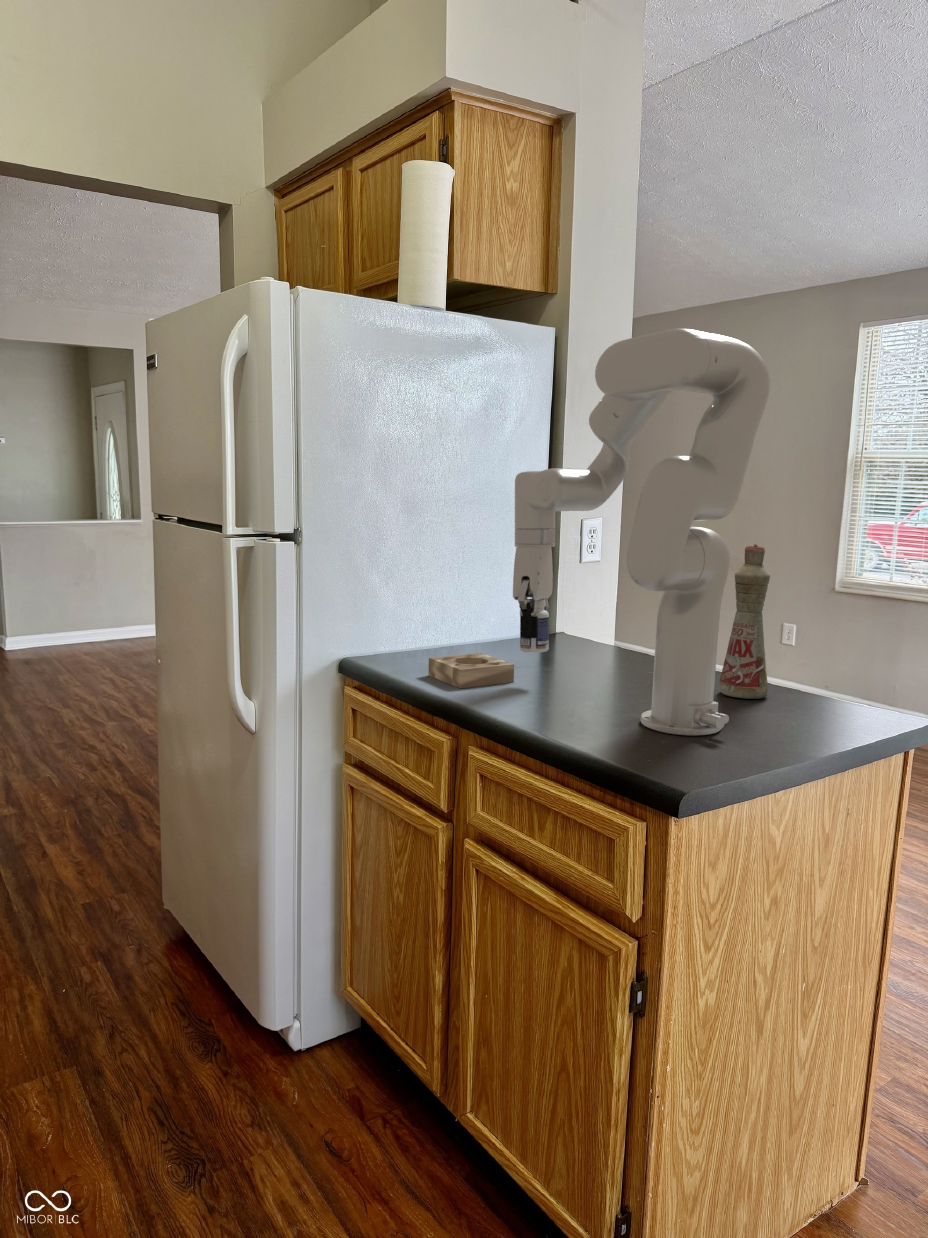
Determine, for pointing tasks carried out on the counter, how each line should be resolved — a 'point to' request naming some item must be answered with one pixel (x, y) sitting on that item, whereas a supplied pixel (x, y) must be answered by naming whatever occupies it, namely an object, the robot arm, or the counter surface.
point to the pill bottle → (543, 632)
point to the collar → (471, 670)
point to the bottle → (747, 632)
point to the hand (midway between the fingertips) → (534, 634)
